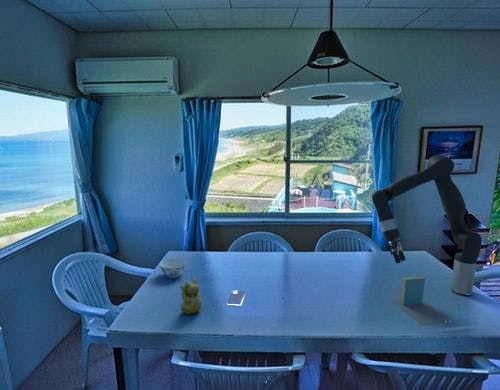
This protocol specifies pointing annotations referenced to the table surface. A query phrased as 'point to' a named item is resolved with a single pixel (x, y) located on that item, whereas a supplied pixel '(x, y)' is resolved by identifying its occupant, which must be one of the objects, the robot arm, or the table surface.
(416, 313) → the mat
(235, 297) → the mobile phone
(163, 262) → the chinaware
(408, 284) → the tile
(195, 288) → the decorative figurine
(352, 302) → the table surface
